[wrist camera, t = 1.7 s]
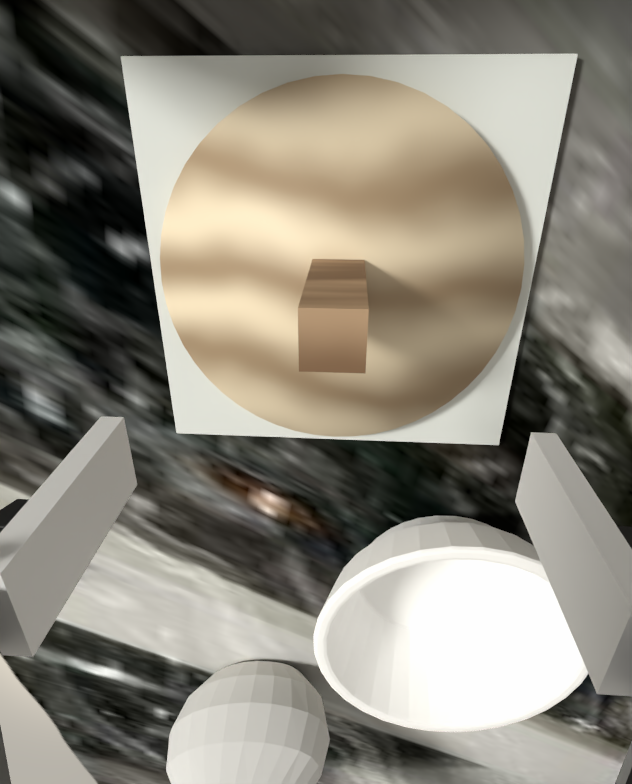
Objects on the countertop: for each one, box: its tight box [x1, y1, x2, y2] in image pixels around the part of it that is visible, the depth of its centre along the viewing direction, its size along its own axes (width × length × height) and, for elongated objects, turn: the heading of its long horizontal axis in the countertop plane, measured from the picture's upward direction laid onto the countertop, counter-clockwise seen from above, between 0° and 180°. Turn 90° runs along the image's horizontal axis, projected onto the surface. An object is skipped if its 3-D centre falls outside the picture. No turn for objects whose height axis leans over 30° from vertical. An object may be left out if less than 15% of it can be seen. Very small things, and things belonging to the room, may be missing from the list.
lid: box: [160, 74, 524, 437], centre depth 30 cm, size 24×24×11 cm
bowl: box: [313, 515, 588, 732], centre depth 45 cm, size 22×22×8 cm
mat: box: [121, 54, 578, 445], centre depth 35 cm, size 26×26×1 cm
